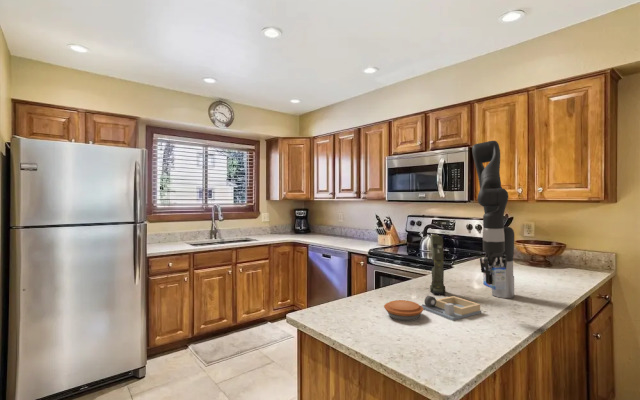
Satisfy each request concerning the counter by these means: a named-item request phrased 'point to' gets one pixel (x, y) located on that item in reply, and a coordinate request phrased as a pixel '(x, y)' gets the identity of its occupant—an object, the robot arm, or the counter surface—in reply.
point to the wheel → (430, 301)
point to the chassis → (454, 308)
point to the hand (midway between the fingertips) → (494, 282)
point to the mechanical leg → (437, 266)
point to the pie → (403, 310)
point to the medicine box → (496, 278)
